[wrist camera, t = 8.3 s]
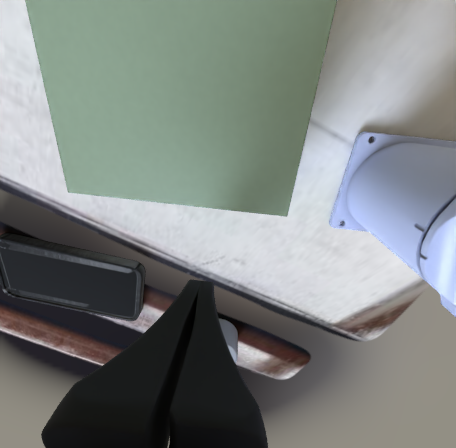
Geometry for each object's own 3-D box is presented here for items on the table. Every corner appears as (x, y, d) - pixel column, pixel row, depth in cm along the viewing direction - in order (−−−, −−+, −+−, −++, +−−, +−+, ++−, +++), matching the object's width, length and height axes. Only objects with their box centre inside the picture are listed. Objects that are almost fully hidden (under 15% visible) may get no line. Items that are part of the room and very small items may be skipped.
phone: (-13, 235, 21) (141, 269, 22) (-2, 230, 22) (146, 263, 23) (3, 296, 25) (137, 323, 25) (13, 289, 26) (141, 316, 26)
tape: (240, 320, 26) (240, 344, 23) (235, 349, 28) (234, 374, 26) (196, 315, 26) (191, 338, 23) (194, 344, 28) (190, 369, 26)
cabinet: (102, -62, 13) (-29, -233, 7) (313, -40, 13) (382, -192, 7) (125, 168, 19) (67, 193, 13) (271, 184, 19) (287, 216, 13)
